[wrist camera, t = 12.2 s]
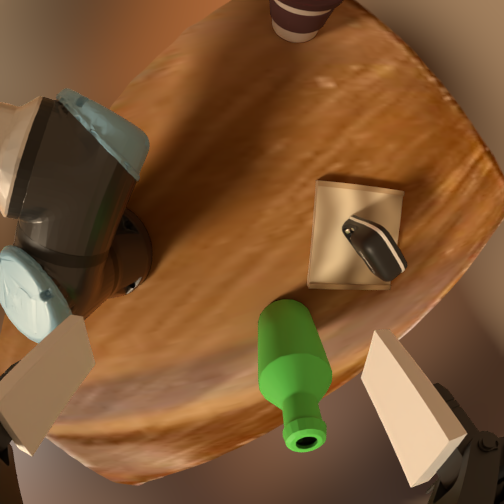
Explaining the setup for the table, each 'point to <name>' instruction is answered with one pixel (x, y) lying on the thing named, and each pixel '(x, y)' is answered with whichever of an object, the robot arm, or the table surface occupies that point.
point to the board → (334, 241)
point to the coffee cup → (300, 17)
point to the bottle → (293, 371)
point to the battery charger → (375, 247)
